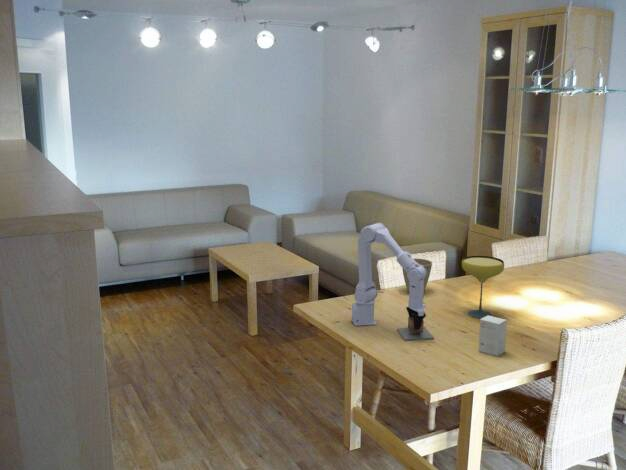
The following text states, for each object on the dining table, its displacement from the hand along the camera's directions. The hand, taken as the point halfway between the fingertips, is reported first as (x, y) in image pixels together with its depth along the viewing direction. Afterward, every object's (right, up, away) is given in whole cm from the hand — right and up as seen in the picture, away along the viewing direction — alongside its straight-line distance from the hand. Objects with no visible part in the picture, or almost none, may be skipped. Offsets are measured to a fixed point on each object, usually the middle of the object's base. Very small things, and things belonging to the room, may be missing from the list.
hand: (415, 326), depth 256 cm
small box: (+27, -7, -16) cm, 32 cm away
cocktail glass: (+33, +2, +24) cm, 41 cm away
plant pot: (+9, +9, +55) cm, 57 cm away
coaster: (0, -3, +1) cm, 3 cm away
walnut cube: (0, -2, 0) cm, 2 cm away
